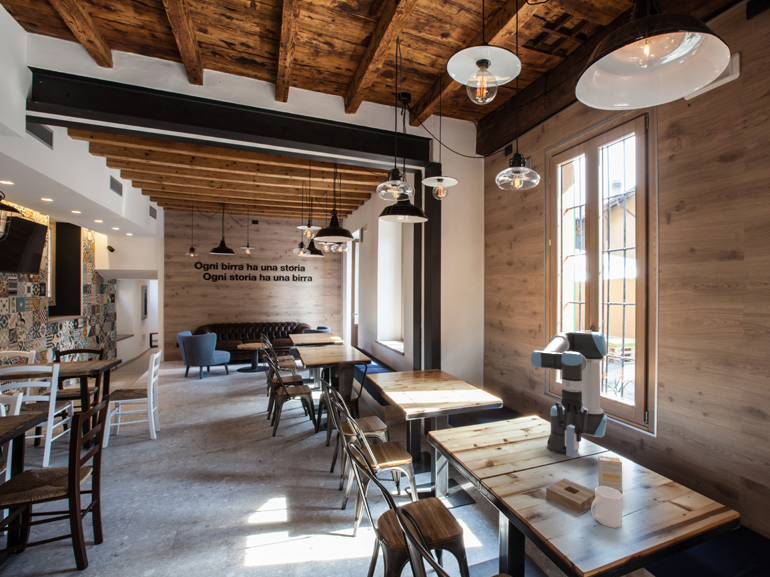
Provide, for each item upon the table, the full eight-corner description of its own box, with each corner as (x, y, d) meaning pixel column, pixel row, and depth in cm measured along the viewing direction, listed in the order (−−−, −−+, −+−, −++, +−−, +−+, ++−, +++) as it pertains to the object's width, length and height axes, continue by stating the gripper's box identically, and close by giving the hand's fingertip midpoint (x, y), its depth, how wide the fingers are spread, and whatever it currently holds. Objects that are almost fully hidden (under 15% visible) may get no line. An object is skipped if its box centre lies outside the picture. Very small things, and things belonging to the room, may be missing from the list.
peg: (570, 453, 152) (570, 424, 153) (577, 456, 150) (577, 426, 150) (566, 455, 151) (566, 426, 151) (573, 458, 148) (573, 428, 149)
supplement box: (619, 488, 159) (619, 457, 159) (622, 493, 155) (622, 462, 155) (597, 484, 162) (597, 454, 162) (600, 490, 157) (600, 459, 157)
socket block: (564, 487, 159) (564, 478, 159) (598, 502, 148) (598, 492, 148) (546, 497, 151) (546, 487, 151) (580, 514, 140) (580, 503, 140)
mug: (582, 517, 138) (582, 488, 138) (608, 512, 141) (608, 484, 141) (600, 531, 130) (600, 501, 130) (628, 526, 133) (627, 496, 133)
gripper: (548, 386, 155) (548, 442, 155) (587, 395, 142) (587, 456, 142) (558, 384, 160) (558, 439, 159) (596, 392, 147) (596, 452, 146)
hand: (571, 447), depth 150 cm, fingers closed on peg, 3 cm apart
